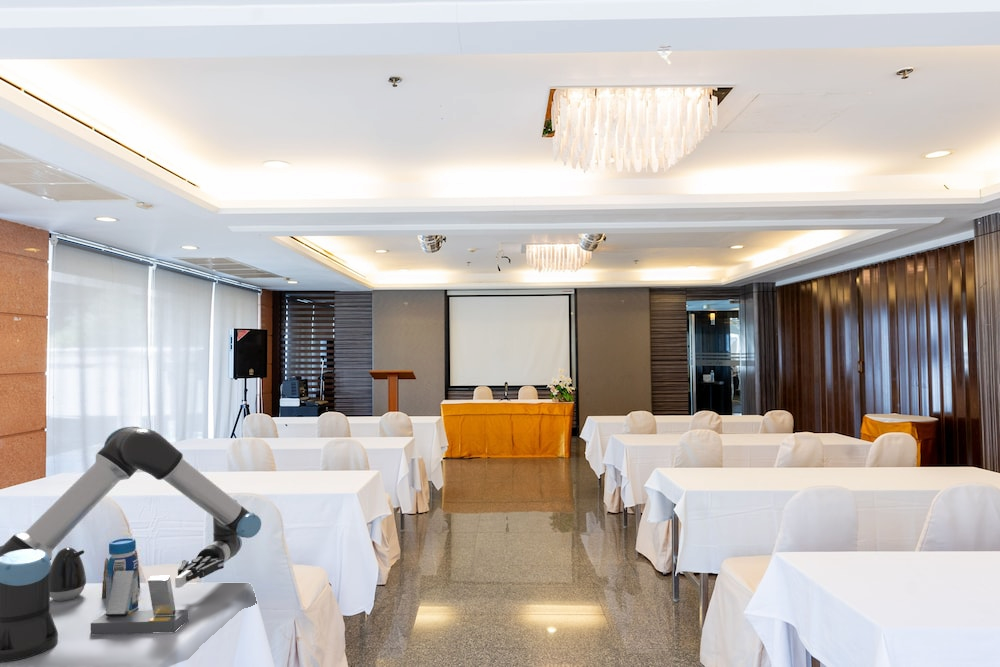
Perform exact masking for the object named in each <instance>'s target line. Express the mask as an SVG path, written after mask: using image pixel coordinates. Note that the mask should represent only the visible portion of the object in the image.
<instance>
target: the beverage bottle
mask: <svg viewBox="0 0 1000 667" xmlns="http://www.w3.org/2000/svg"><path fill="white" fill-rule="evenodd" d="M136 543H137V542H136V538H133V537H132V538H131V537H126V538H117V539H113V540H111V541H110V542H109V543H108V554H109V556H110V557H109V559H108V562H107V565H106V569H107V573H106V575H105V579H106V599H105V612H106V611H107V607H108V602H109V598H110V593H111V589H112V585H113V580H114V576H115V572H116V571H137V574H136V578H135V583H134V588H133V592H132V597H131V602H130V606H129V610H133V611H137V609H138V608H139V589H138V575H139V576H140V569H138V567H139V558H138V559H137V557H136V555H135V554H134V552H135V550H136V548H137V547H136V545H137V544H136ZM137 565H138V567H137Z"/></svg>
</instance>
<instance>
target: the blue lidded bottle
mask: <svg viewBox="0 0 1000 667" xmlns="http://www.w3.org/2000/svg"><path fill="white" fill-rule="evenodd" d="M133 553H134V554H135V555H136V557H137V559H138V560H139V558H138V557H139V555H138V552H137V550H136V549H135V551H134V552H133ZM108 560H109V559H108V558H107V557H105V560H104V565H103V566H104V568H103V569H104V570H103V580H102V591H101V599H104V598H106V579H105V575H106V573H107V569H106V565H107V562H108ZM137 567H138V569H139V568H140V567H139V564H138V565H137ZM139 570H140V569H139ZM140 581H141V580H140V574H139V575H138V590H139V589H140V588H141V582H140Z"/></svg>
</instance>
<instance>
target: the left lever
mask: <svg viewBox="0 0 1000 667" xmlns="http://www.w3.org/2000/svg"><path fill="white" fill-rule="evenodd" d="M136 574H137V571H116V572H115V576H114V580H113V585H112V589H111V593H110V598H109V602H108V607H107V611H106V610H105V613H106V616H127V614H128V611H129V606H130V602H131V597H132V592H133V588H134V583H135V578H136Z"/></svg>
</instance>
